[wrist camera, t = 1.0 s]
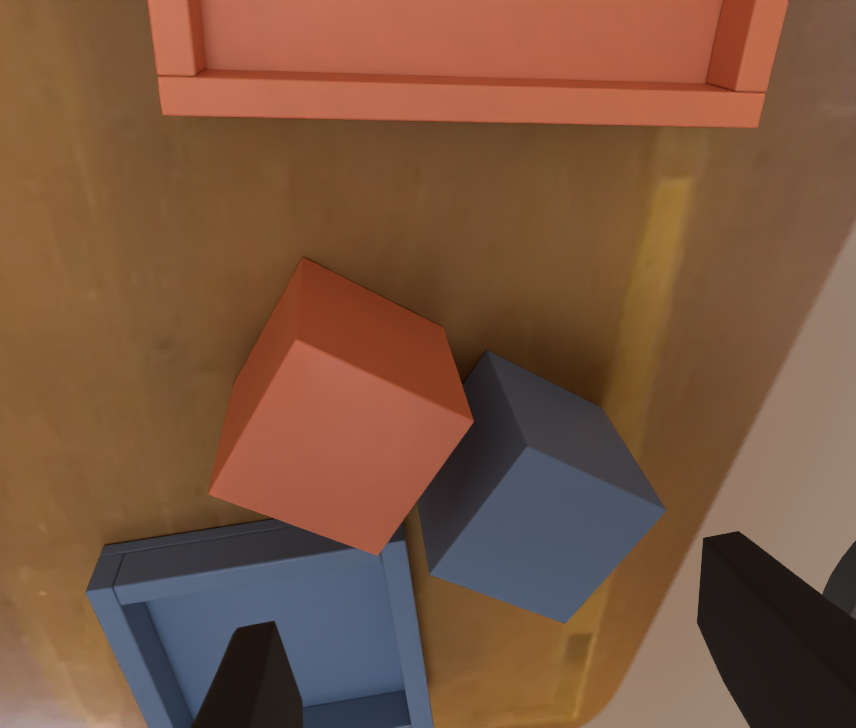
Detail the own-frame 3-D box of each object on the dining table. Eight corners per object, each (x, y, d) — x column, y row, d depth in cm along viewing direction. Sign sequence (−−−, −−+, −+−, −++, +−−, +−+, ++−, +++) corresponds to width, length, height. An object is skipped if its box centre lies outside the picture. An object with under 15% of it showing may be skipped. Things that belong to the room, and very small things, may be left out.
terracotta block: (444, 327, 21) (474, 421, 16) (368, 442, 22) (378, 556, 18) (302, 256, 19) (295, 338, 15) (232, 385, 21) (206, 495, 16)
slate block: (602, 407, 23) (667, 510, 18) (522, 507, 24) (565, 624, 20) (486, 348, 21) (527, 446, 17) (409, 460, 23) (428, 575, 18)
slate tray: (399, 498, 23) (405, 540, 22) (428, 687, 28) (435, 734, 26) (102, 545, 23) (84, 592, 21) (182, 730, 27) (172, 781, 26)
